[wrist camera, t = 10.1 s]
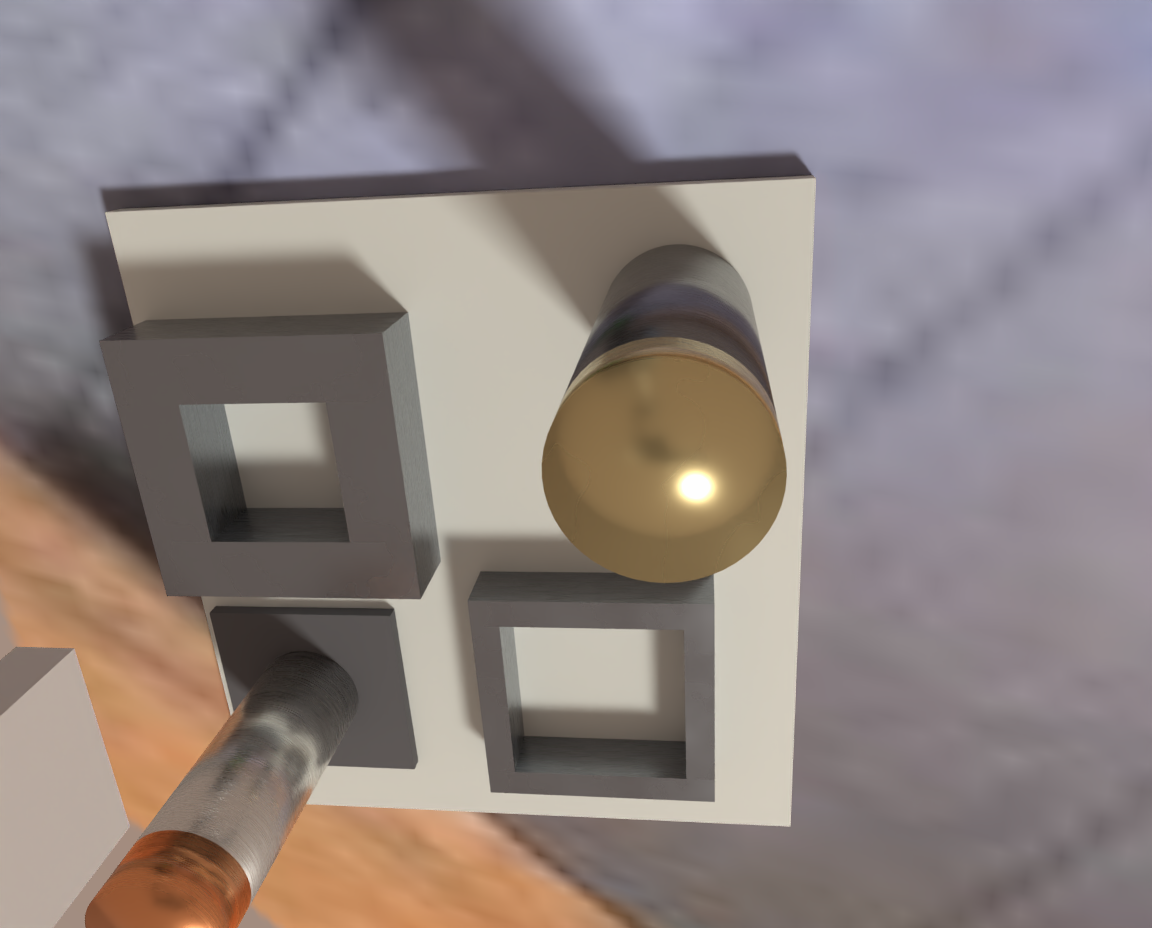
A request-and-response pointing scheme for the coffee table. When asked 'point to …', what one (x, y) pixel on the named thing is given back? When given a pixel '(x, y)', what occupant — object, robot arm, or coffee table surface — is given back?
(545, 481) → the cylinder
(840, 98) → the coffee table surface
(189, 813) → the lock pin
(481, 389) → the dock board
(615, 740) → the socket
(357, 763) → the pin pad
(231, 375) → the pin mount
